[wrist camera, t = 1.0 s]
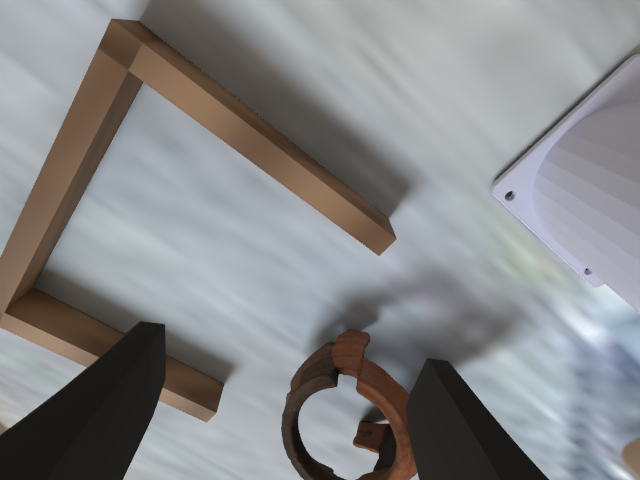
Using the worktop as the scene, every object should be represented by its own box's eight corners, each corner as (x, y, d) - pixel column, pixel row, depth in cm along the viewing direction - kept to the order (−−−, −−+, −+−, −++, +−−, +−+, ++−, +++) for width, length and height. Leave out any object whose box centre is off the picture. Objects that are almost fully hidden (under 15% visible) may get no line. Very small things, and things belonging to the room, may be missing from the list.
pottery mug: (327, 433, 29) (280, 515, 21) (309, 314, 29) (255, 355, 21) (494, 445, 25) (512, 553, 17) (477, 306, 24) (487, 352, 17)
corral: (388, 218, 19) (396, 239, 17) (214, 393, 26) (206, 422, 24) (138, 20, 15) (111, 18, 13) (4, 290, 22) (-27, 315, 20)
